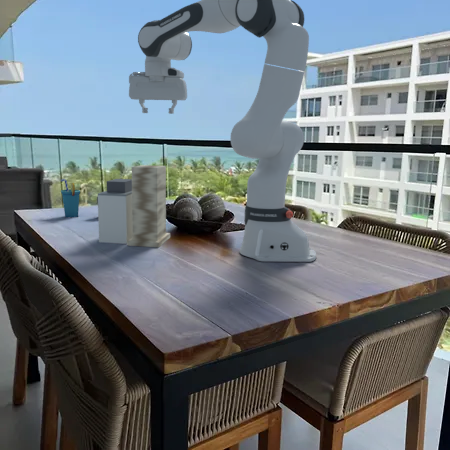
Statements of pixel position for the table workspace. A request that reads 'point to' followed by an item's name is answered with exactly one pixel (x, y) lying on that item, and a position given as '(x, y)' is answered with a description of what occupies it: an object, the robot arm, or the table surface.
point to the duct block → (115, 217)
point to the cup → (70, 200)
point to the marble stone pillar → (148, 206)
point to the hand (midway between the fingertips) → (158, 113)
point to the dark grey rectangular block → (119, 185)
